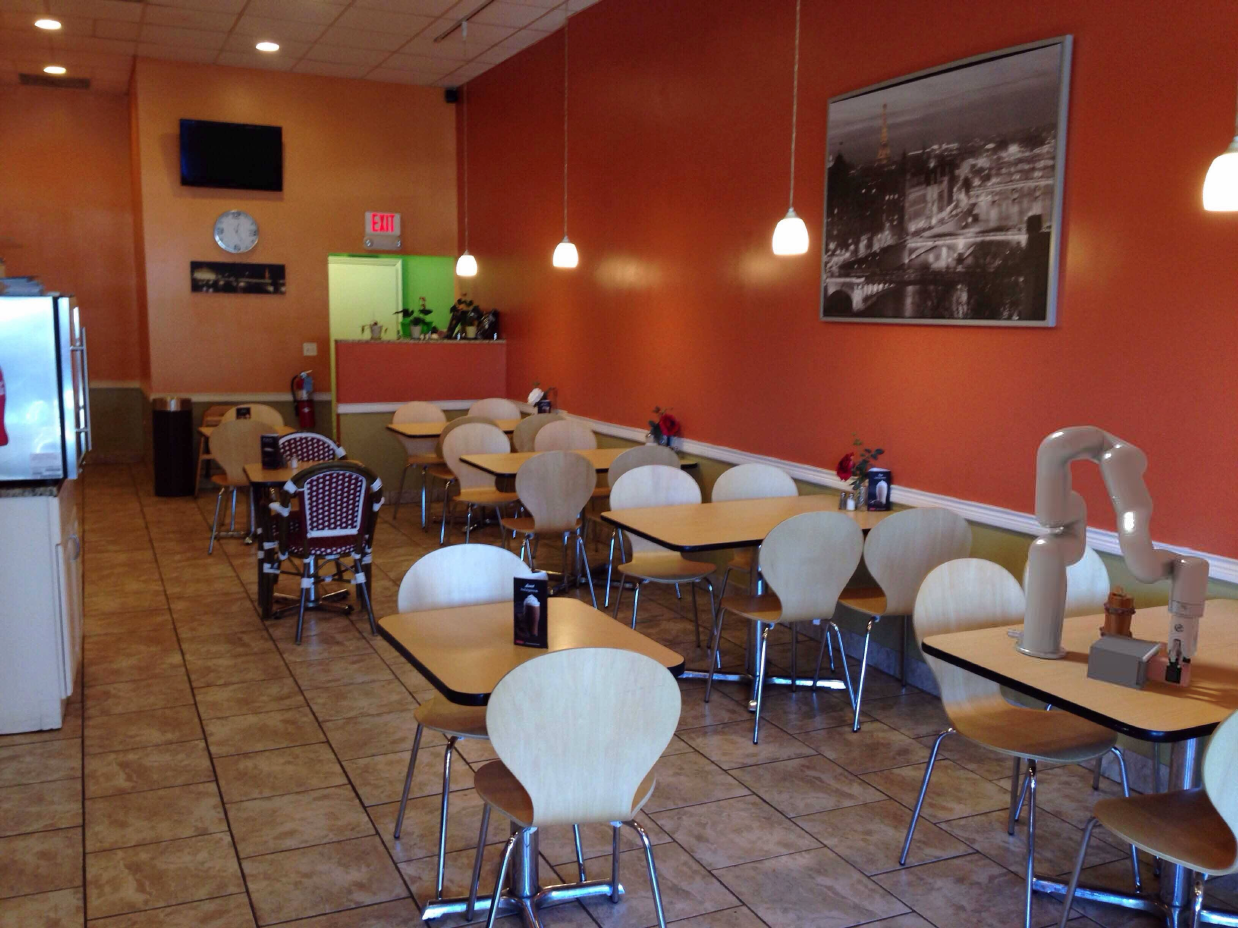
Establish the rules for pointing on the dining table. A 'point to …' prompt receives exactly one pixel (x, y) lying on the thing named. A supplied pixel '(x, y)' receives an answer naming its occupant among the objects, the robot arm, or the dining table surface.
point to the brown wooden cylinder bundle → (1118, 613)
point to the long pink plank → (1159, 670)
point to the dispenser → (1121, 660)
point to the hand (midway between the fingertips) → (1176, 677)
